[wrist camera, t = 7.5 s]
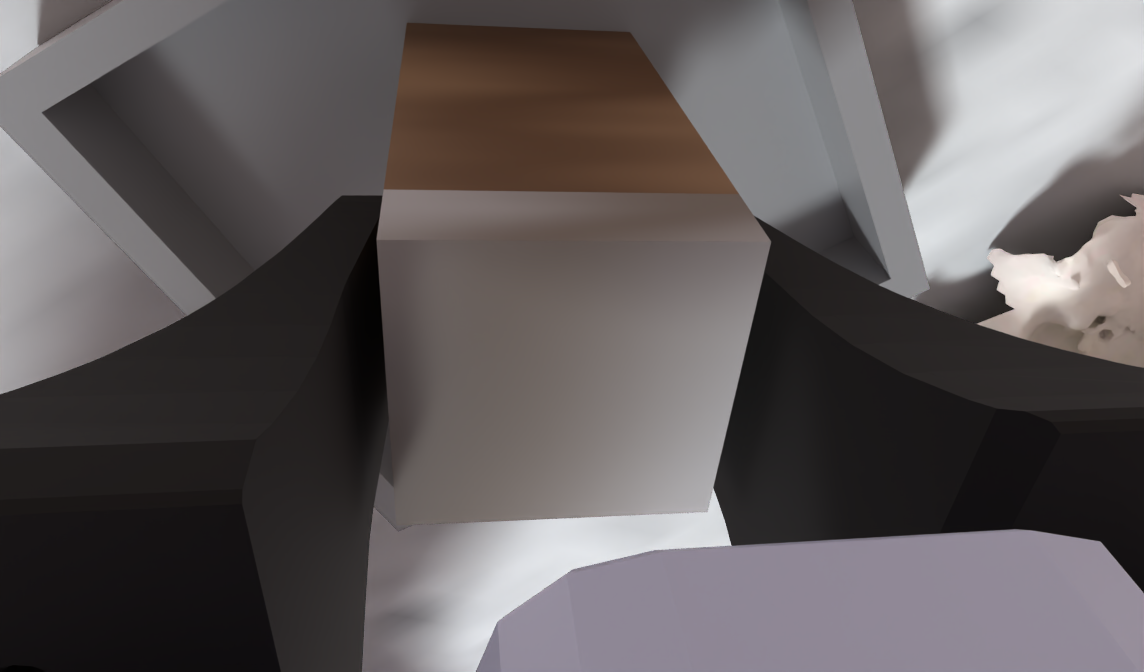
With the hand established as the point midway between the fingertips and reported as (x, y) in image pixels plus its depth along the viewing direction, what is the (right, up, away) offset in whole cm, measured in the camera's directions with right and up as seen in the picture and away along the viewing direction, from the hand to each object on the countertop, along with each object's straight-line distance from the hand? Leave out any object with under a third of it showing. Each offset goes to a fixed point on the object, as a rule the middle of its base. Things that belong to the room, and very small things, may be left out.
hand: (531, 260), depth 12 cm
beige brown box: (0, +2, +2) cm, 3 cm away
